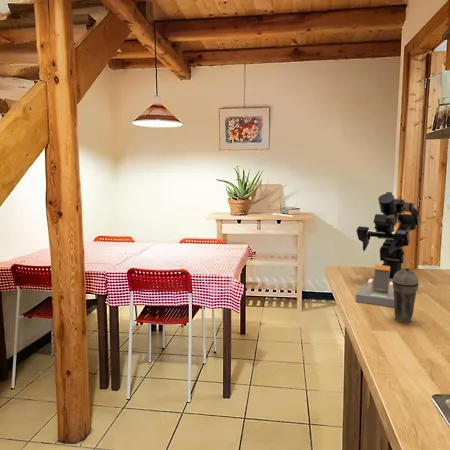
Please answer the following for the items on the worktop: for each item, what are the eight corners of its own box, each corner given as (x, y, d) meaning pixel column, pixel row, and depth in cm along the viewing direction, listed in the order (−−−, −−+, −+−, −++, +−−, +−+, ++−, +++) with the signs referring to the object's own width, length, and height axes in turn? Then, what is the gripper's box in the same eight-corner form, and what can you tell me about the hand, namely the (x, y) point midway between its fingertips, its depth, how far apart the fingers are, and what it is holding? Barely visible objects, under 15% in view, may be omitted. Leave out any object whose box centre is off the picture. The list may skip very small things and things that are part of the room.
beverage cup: (422, 322, 120) (426, 256, 117) (403, 326, 118) (407, 258, 115) (403, 313, 127) (406, 251, 124) (384, 317, 125) (388, 253, 121)
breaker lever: (373, 290, 142) (376, 266, 144) (387, 292, 140) (390, 267, 142) (372, 289, 140) (375, 264, 142) (387, 291, 138) (389, 266, 140)
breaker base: (362, 291, 149) (362, 274, 148) (403, 297, 142) (404, 279, 141) (355, 301, 138) (356, 283, 138) (400, 308, 132) (401, 289, 131)
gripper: (360, 205, 160) (347, 233, 151) (411, 208, 148) (399, 239, 140) (365, 226, 166) (352, 254, 158) (414, 230, 155) (403, 260, 146)
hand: (375, 251), depth 150 cm, fingers open, 9 cm apart
